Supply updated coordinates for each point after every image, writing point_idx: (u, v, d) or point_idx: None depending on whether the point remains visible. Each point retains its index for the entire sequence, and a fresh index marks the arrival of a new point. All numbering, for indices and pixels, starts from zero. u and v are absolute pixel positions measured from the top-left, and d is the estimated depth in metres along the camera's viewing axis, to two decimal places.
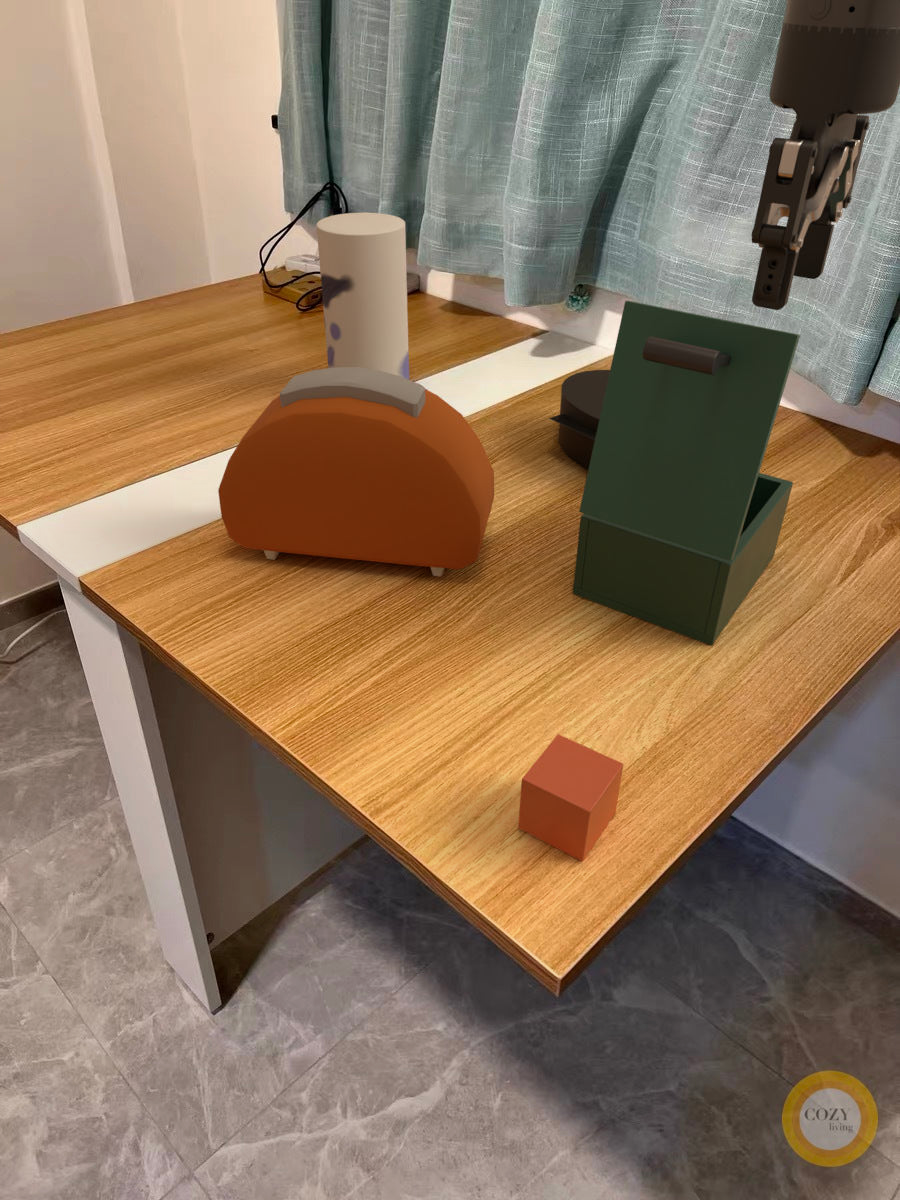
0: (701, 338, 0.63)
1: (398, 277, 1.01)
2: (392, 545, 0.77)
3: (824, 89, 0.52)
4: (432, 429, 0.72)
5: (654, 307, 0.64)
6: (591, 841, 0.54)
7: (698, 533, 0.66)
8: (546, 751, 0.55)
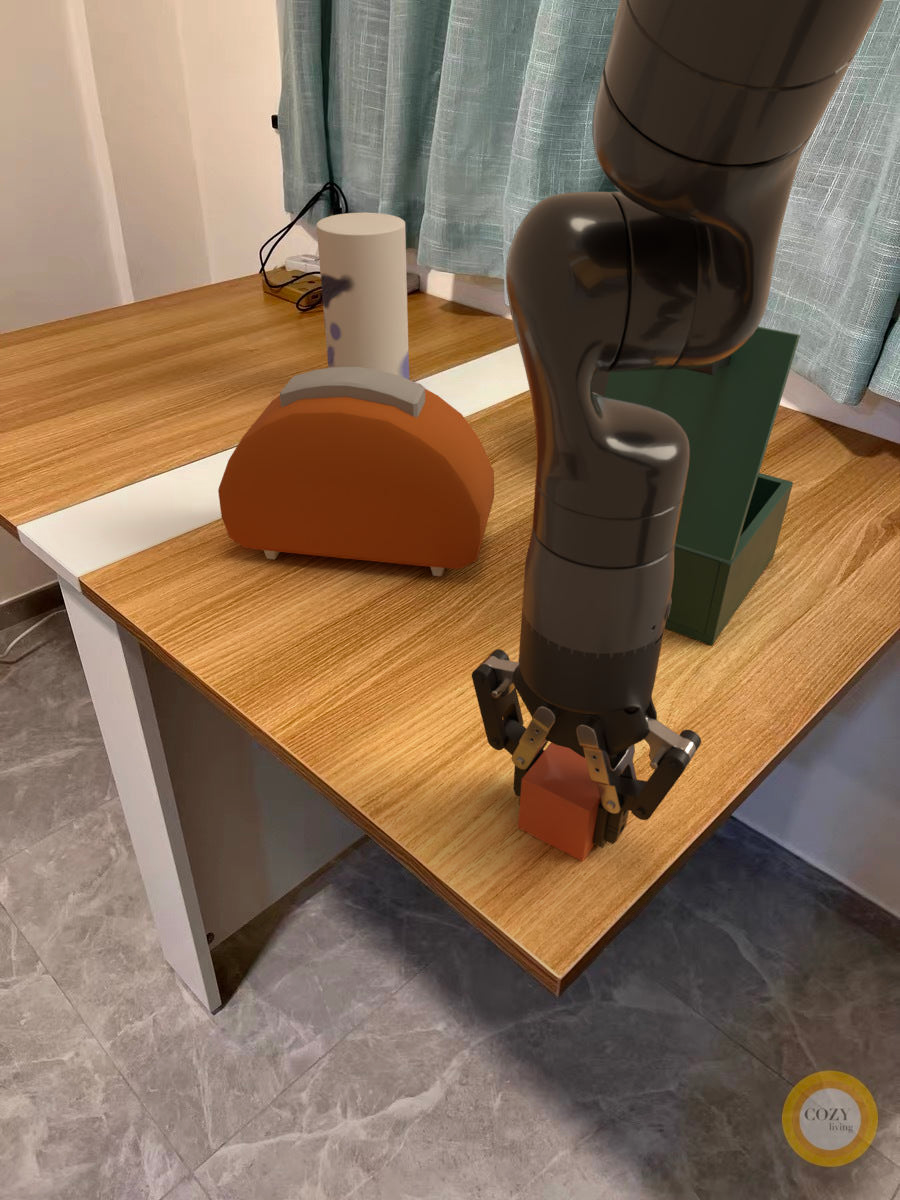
0: None
1: (398, 277, 1.01)
2: (392, 545, 0.77)
3: None
4: (432, 429, 0.72)
5: None
6: (591, 841, 0.54)
7: (698, 533, 0.66)
8: (546, 751, 0.55)
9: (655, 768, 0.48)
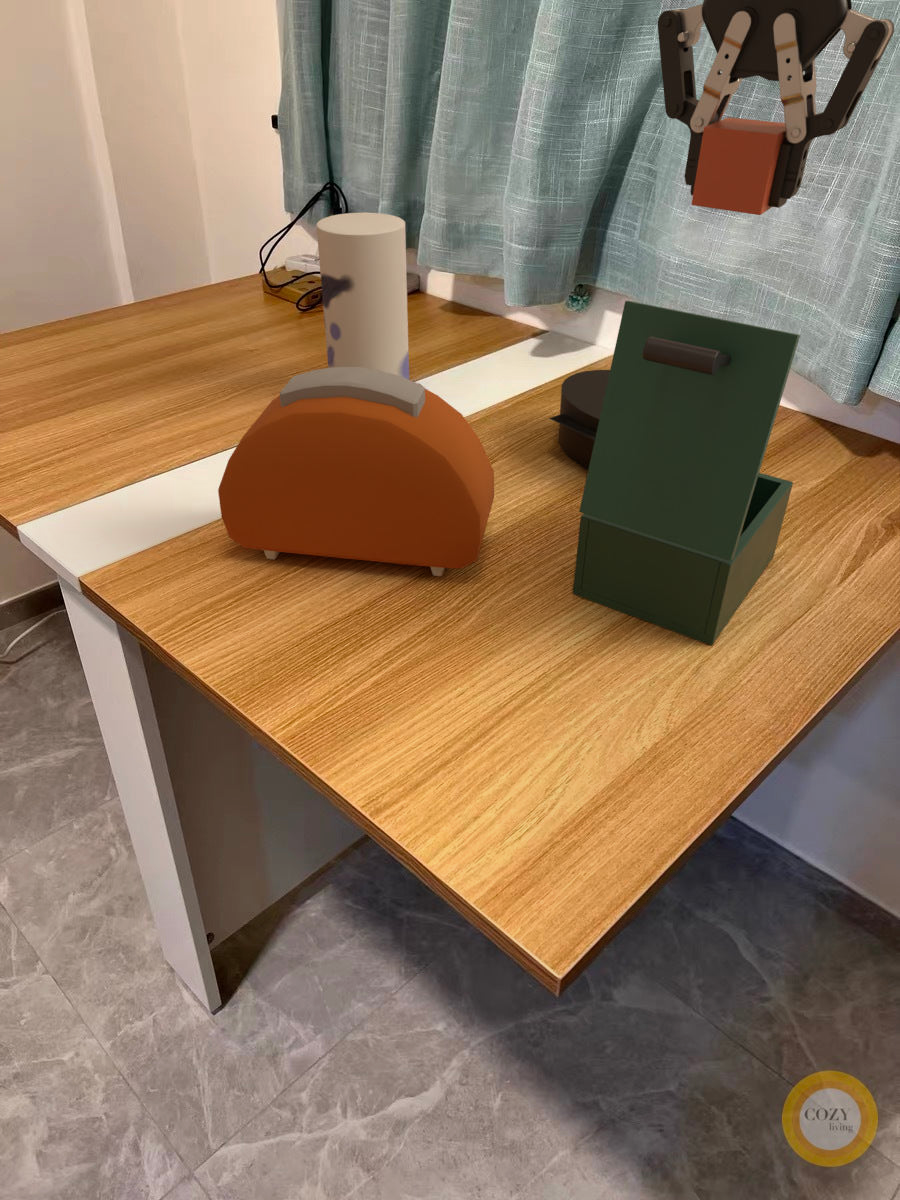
0: (701, 338, 0.63)
1: (398, 277, 1.01)
2: (392, 545, 0.77)
3: None
4: (432, 429, 0.72)
5: (654, 307, 0.64)
6: (768, 196, 0.56)
7: (698, 533, 0.66)
8: (721, 121, 0.57)
9: (852, 49, 0.50)
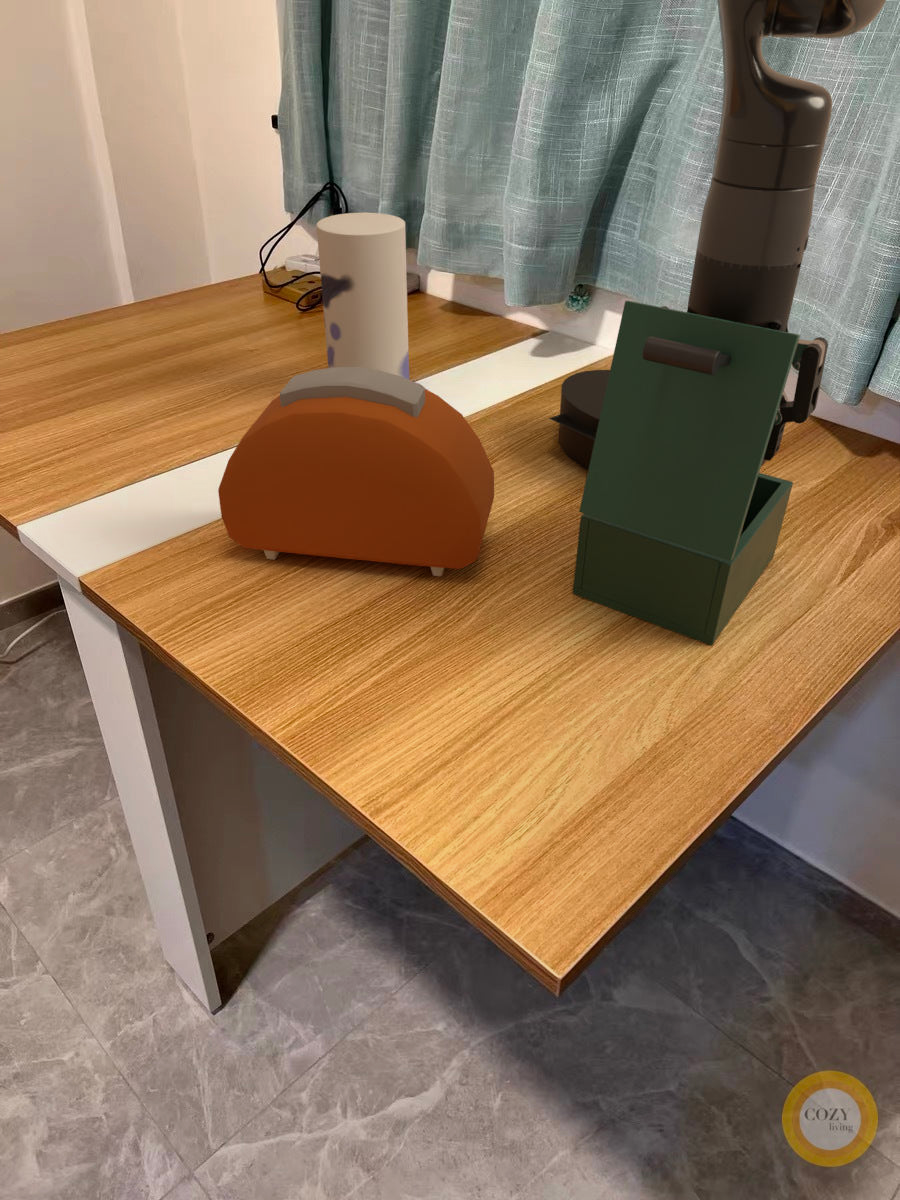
0: (701, 338, 0.63)
1: (398, 277, 1.01)
2: (392, 545, 0.77)
3: None
4: (432, 429, 0.72)
5: (654, 307, 0.64)
6: None
7: (698, 533, 0.66)
8: None
9: (798, 366, 0.66)
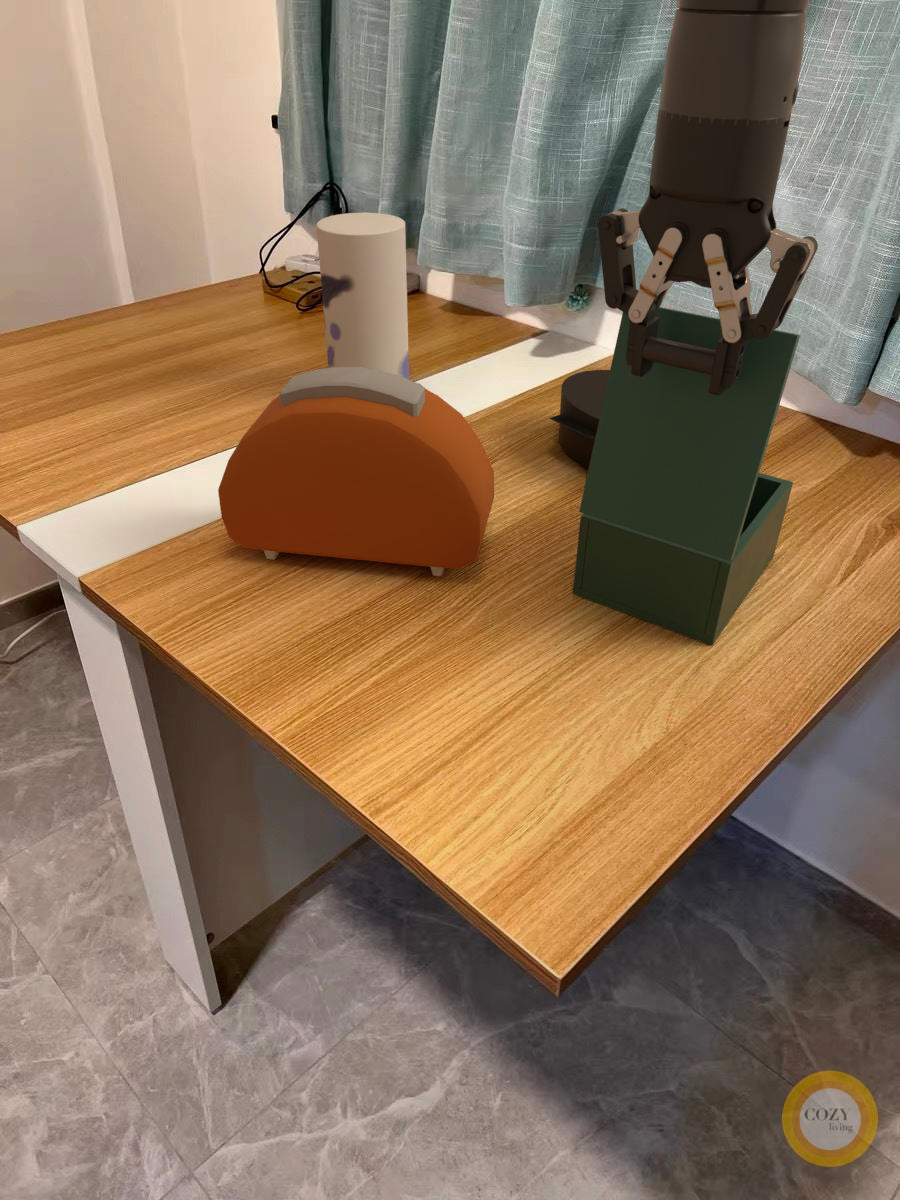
0: (701, 338, 0.63)
1: (398, 277, 1.01)
2: (392, 545, 0.77)
3: None
4: (432, 429, 0.72)
5: None
6: None
7: (698, 533, 0.66)
8: None
9: (777, 267, 0.53)
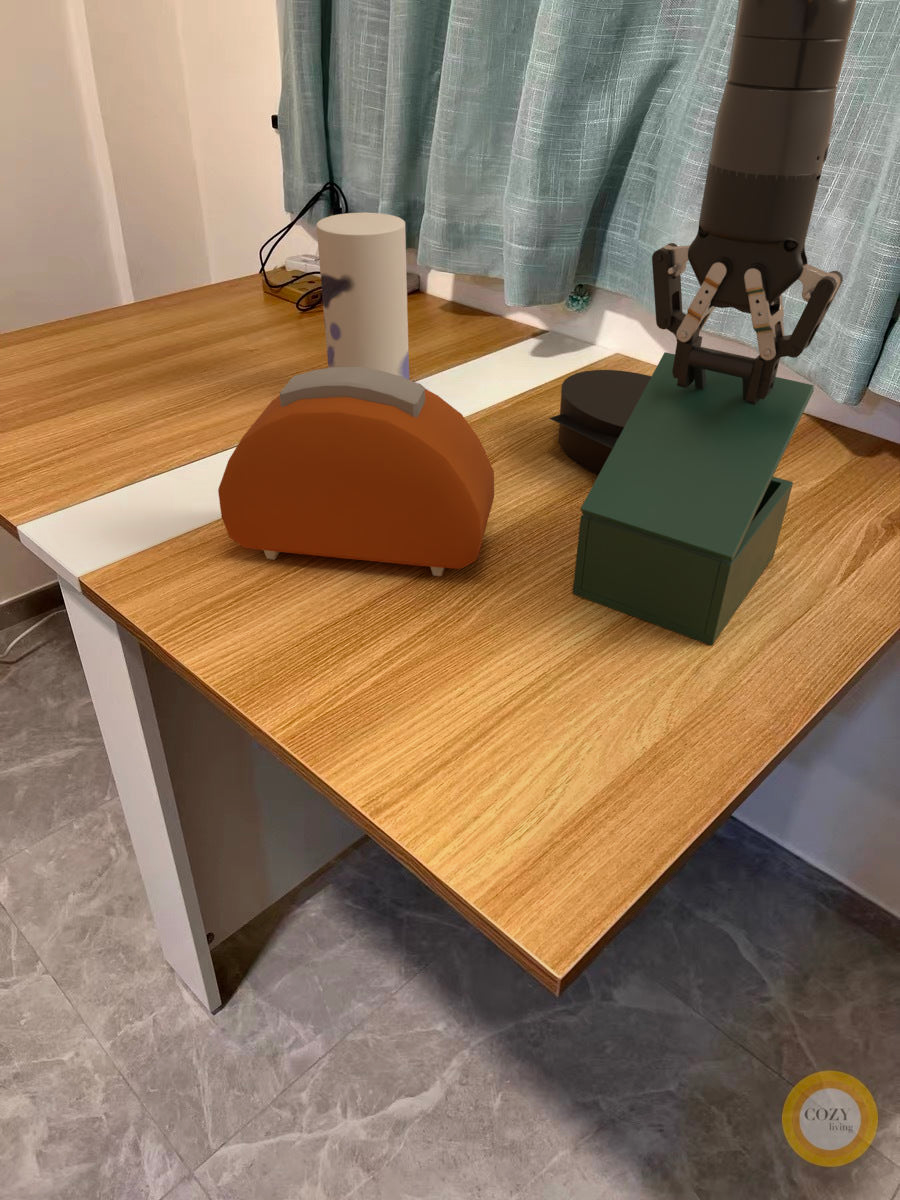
0: (728, 381, 0.72)
1: (398, 277, 1.01)
2: (392, 545, 0.77)
3: None
4: (432, 429, 0.72)
5: None
6: None
7: (702, 531, 0.67)
8: None
9: (809, 297, 0.62)
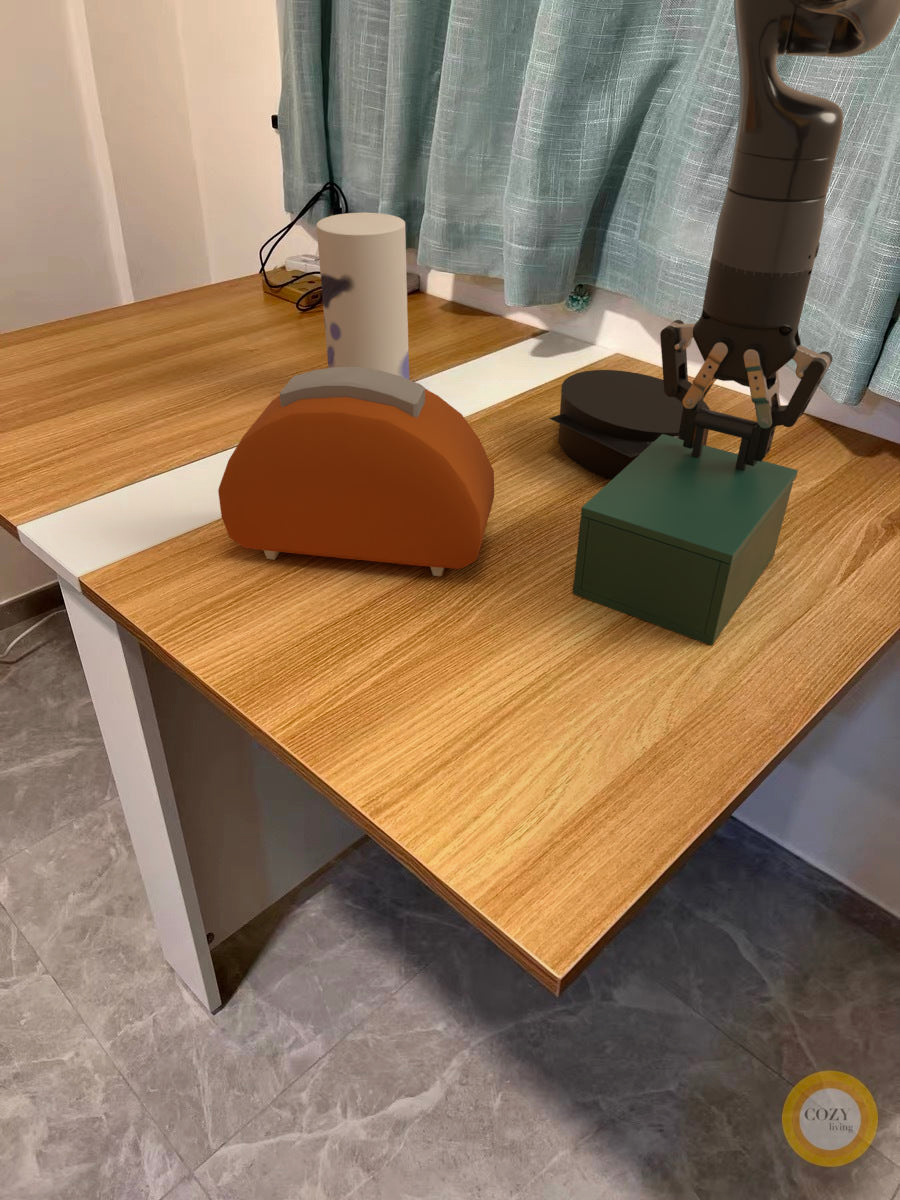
0: (721, 457, 0.79)
1: (398, 277, 1.01)
2: (392, 545, 0.77)
3: None
4: (432, 429, 0.72)
5: None
6: None
7: (702, 536, 0.68)
8: None
9: (801, 376, 0.69)
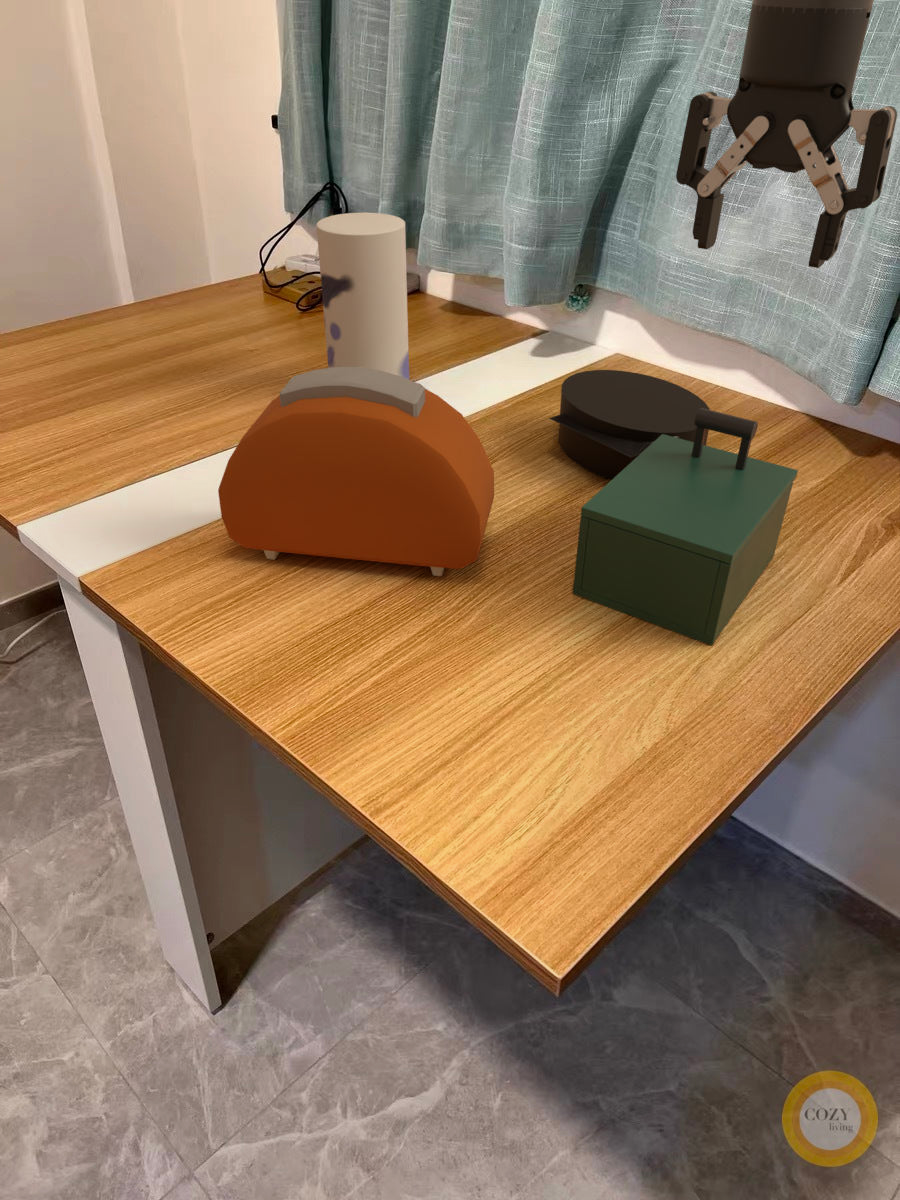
0: (721, 457, 0.79)
1: (398, 276, 1.01)
2: (392, 545, 0.77)
3: None
4: (432, 429, 0.72)
5: (685, 440, 0.81)
6: None
7: (702, 536, 0.68)
8: None
9: (865, 137, 0.59)
